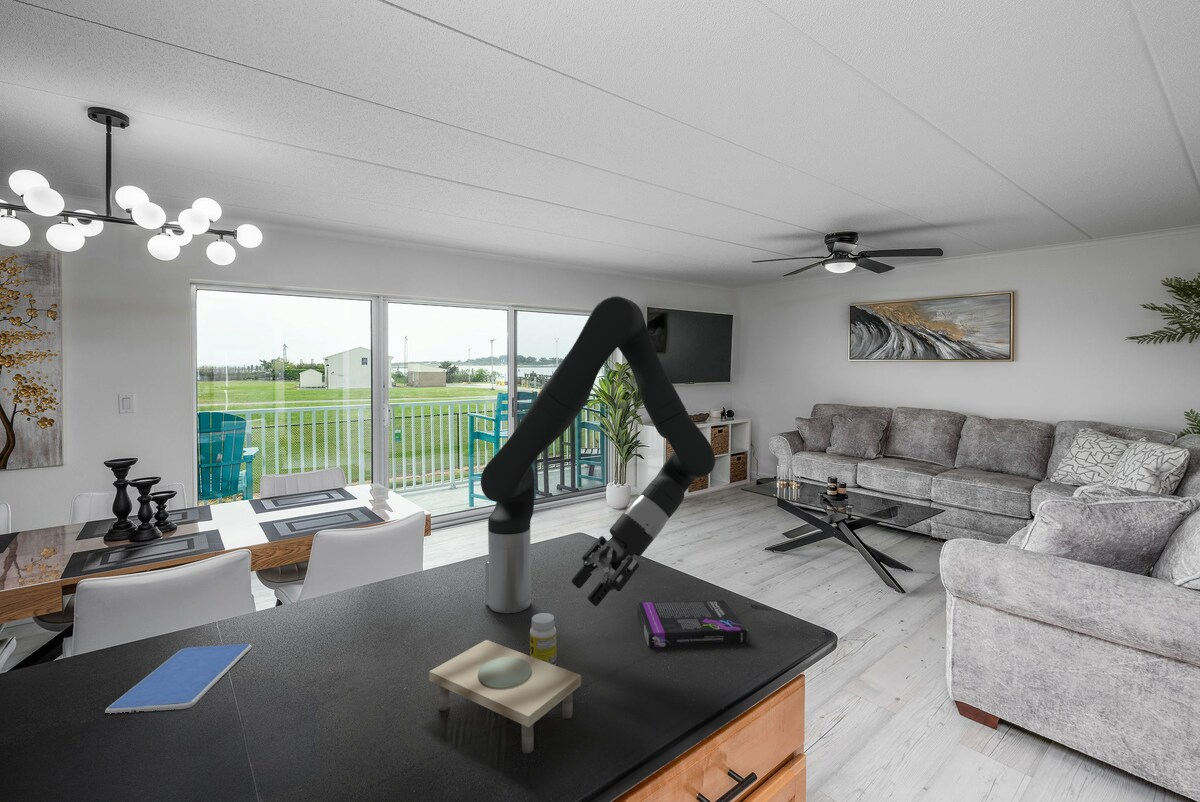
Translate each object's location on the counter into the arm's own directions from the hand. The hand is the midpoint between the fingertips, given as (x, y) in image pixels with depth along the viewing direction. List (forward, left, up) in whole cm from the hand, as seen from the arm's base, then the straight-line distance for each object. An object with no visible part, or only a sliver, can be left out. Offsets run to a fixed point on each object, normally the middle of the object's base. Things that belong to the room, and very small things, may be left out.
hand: (582, 593), depth 100 cm
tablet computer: (-52, -43, -12) cm, 69 cm away
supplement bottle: (-4, -6, -12) cm, 14 cm away
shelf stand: (0, -20, -11) cm, 23 cm away
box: (+12, +21, -12) cm, 27 cm away
